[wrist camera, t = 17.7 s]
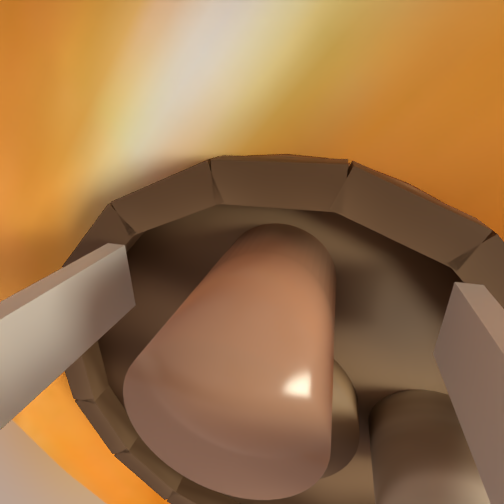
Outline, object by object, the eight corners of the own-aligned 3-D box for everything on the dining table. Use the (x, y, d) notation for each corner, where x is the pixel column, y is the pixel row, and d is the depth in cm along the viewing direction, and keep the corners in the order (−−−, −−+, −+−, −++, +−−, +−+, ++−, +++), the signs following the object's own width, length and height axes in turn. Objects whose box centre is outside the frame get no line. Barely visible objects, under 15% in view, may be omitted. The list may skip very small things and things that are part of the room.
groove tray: (41, 147, 14) (-13, 152, 12) (677, 165, 9) (786, 181, 7) (123, 463, 24) (101, 499, 22) (462, 565, 18) (479, 627, 16)
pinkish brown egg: (226, 313, 14) (137, 466, 8) (224, 217, 12) (107, 320, 6) (328, 331, 13) (317, 522, 7) (343, 229, 11) (347, 368, 5)
